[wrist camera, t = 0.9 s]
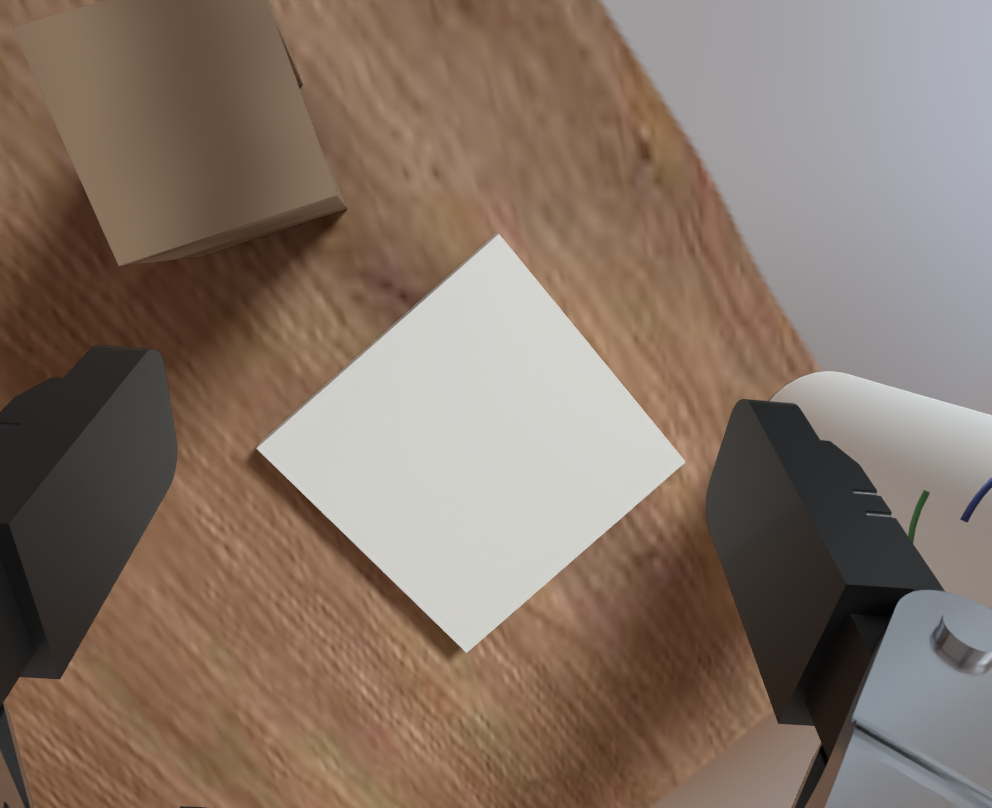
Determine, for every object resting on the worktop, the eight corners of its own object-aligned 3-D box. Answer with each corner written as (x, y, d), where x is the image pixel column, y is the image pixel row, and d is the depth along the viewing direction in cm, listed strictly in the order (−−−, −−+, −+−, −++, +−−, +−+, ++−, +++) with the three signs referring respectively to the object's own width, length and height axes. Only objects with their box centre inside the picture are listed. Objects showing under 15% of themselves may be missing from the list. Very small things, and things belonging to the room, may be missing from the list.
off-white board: (259, 442, 31) (256, 448, 30) (494, 233, 31) (499, 233, 30) (463, 641, 35) (466, 652, 34) (676, 455, 35) (685, 461, 34)
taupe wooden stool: (200, 256, 29) (118, 265, 20) (135, 100, 28) (12, 27, 18) (347, 208, 30) (336, 194, 20) (291, 52, 28) (250, -43, 19)
